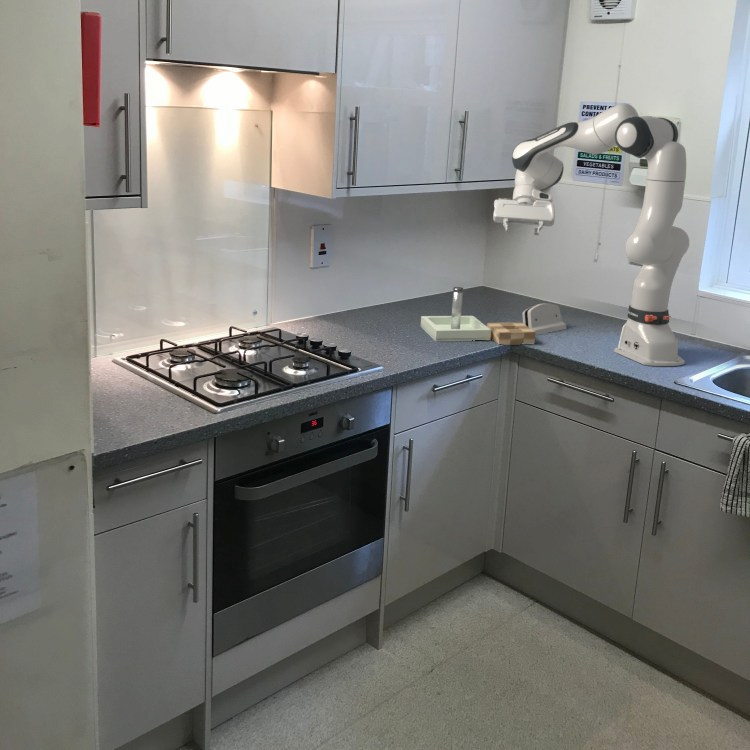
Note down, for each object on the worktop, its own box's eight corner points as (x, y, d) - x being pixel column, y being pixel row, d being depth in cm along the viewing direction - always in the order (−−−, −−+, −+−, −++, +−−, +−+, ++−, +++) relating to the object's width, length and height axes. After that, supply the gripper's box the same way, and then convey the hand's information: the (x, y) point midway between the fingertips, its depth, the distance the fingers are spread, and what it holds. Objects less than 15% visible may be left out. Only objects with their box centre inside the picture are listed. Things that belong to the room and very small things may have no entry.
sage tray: (490, 340, 285) (491, 330, 283) (435, 341, 281) (436, 330, 279) (472, 325, 301) (473, 315, 300) (420, 326, 297) (421, 316, 296)
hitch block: (534, 344, 283) (535, 332, 282) (498, 345, 280) (499, 332, 279) (520, 334, 294) (521, 322, 293) (485, 334, 291) (486, 322, 290)
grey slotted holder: (534, 335, 293) (529, 305, 292) (524, 337, 297) (519, 307, 296) (567, 329, 303) (562, 299, 303) (556, 330, 307) (551, 301, 307)
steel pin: (461, 331, 289) (464, 289, 285) (452, 331, 289) (455, 289, 284) (458, 329, 292) (461, 287, 288) (449, 329, 292) (452, 287, 287)
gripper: (494, 191, 300) (490, 224, 294) (556, 195, 297) (553, 229, 291) (494, 203, 306) (490, 236, 300) (555, 207, 303) (552, 241, 296)
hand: (522, 233), depth 295 cm, fingers open, 8 cm apart
